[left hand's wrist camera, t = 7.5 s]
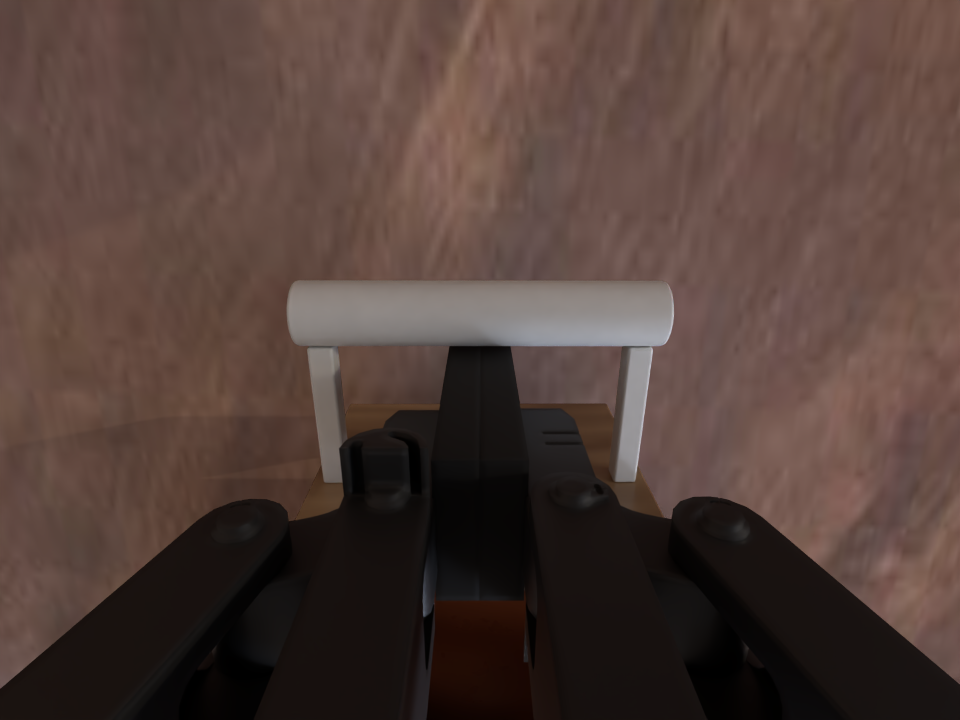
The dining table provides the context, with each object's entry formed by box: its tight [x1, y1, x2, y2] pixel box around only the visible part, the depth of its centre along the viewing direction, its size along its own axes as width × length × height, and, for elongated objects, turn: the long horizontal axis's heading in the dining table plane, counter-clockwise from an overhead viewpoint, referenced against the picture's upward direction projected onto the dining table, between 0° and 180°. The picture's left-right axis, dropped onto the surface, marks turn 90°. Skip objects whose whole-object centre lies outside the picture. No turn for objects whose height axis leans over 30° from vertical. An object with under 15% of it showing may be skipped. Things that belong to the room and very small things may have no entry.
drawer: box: [287, 280, 674, 720], centre depth 17 cm, size 21×9×7 cm, turn 0°
